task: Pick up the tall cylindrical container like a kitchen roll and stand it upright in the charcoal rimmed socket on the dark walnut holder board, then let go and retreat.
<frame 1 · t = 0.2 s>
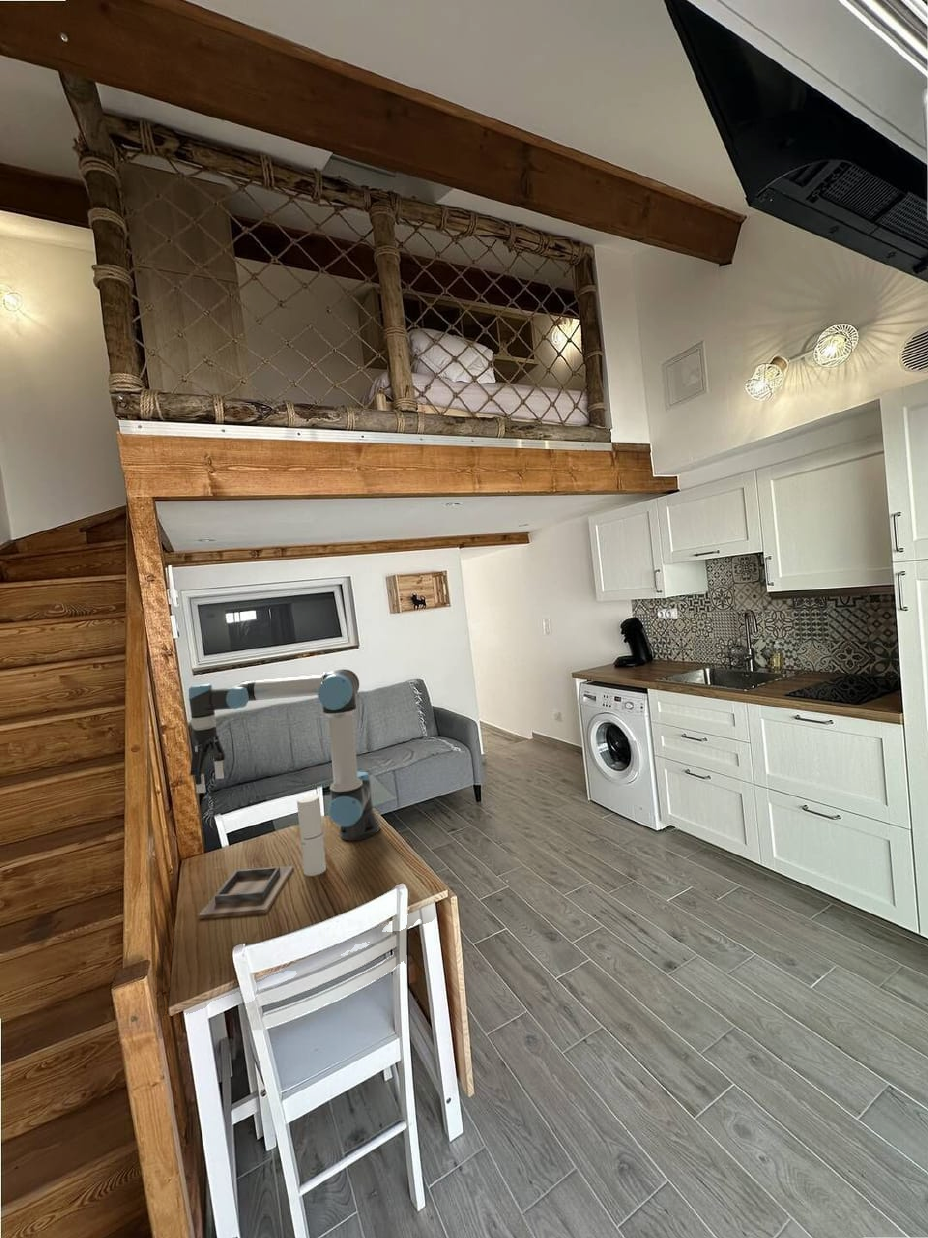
hand: (211, 785, 182), 28 cm above the table, fingers open, 13 cm apart
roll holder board: (249, 892, 160), on the table
cylindrical container: (315, 870, 171), on the table
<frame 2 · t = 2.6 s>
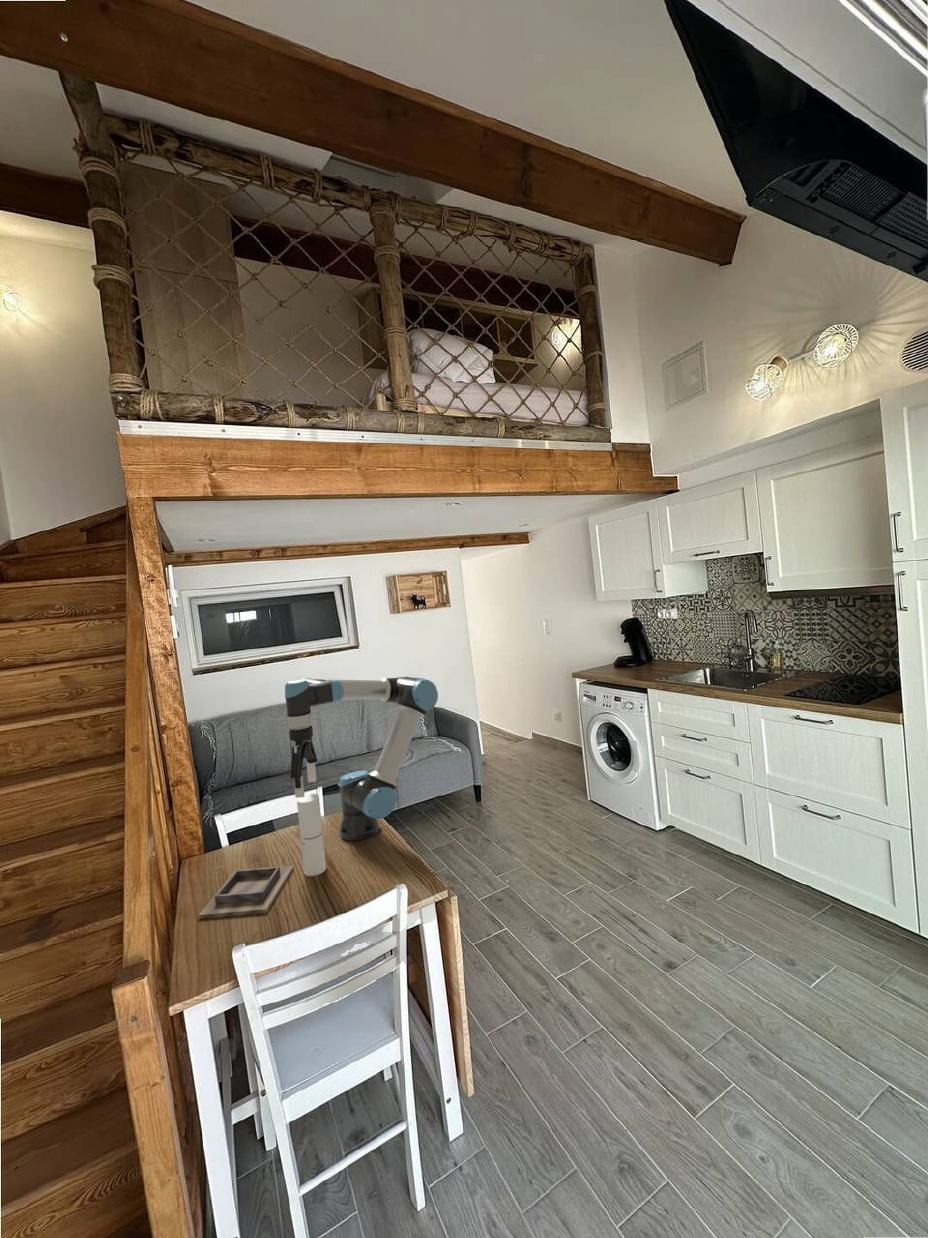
hand: (306, 789, 169), 28 cm above the table, fingers open, 13 cm apart
nothing on the table moved.
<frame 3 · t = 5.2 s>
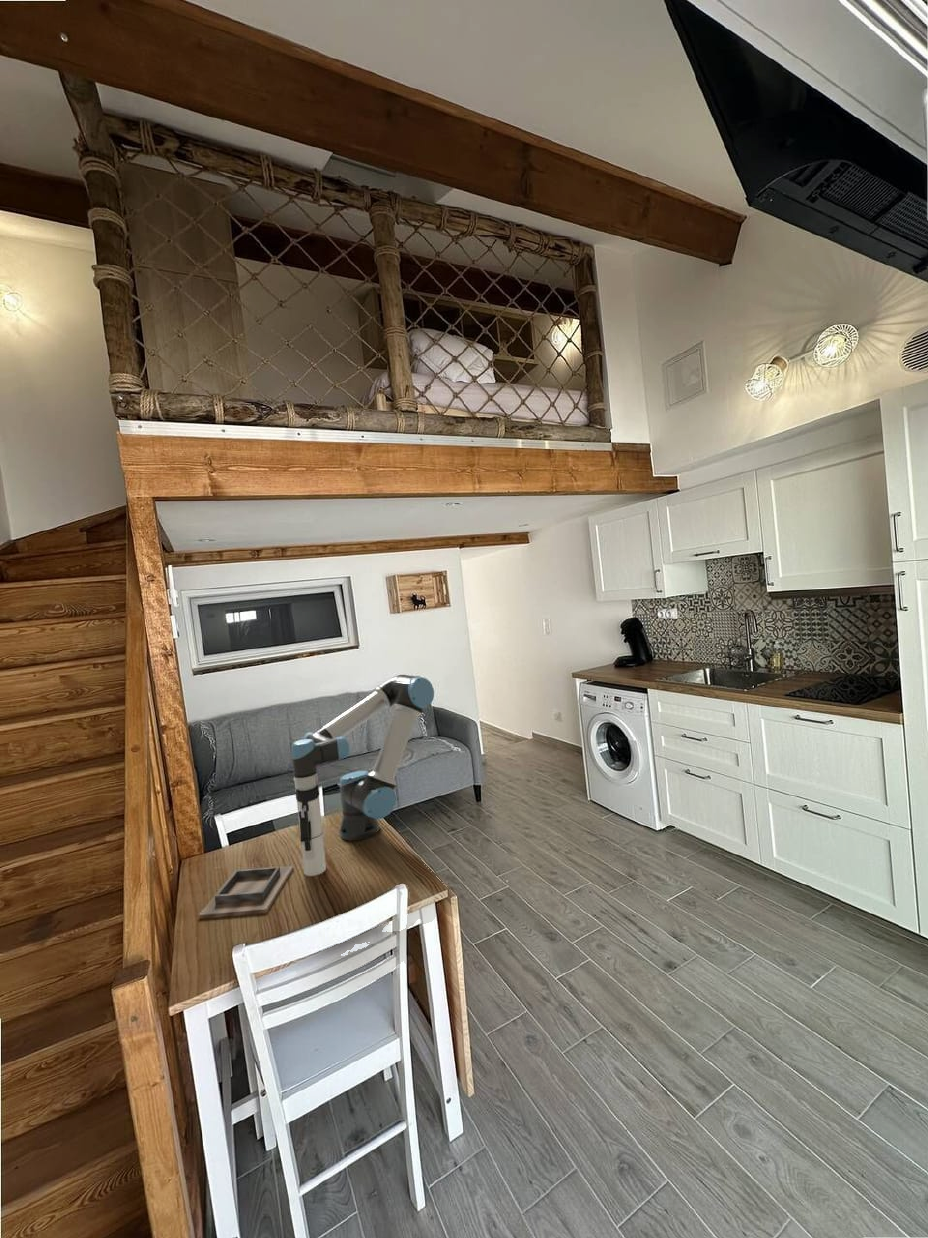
hand: (313, 852, 170), 6 cm above the table, fingers closed on cylindrical container, 7 cm apart
cylindrical container: (315, 870, 171), on the table, touching gripper
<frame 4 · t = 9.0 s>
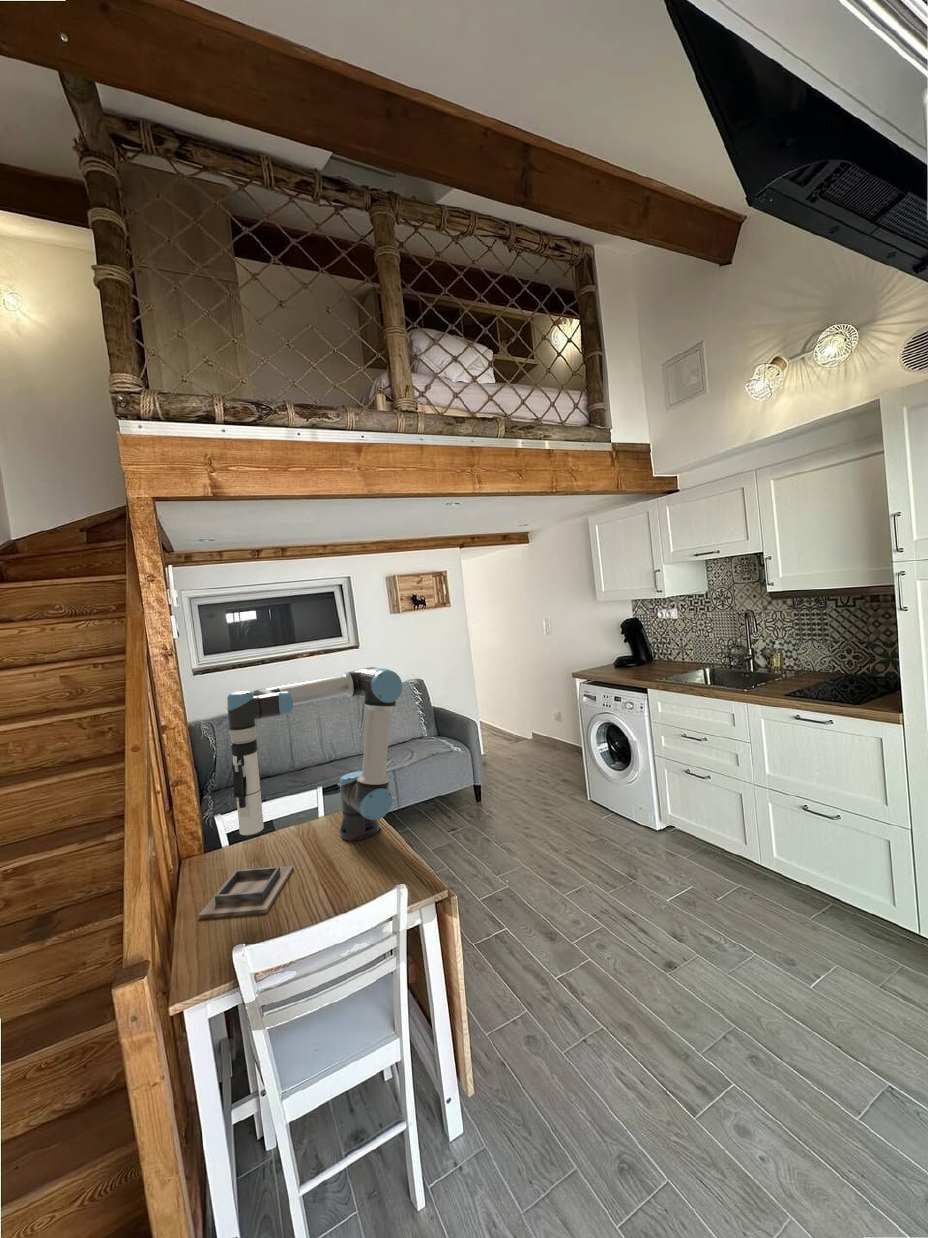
hand: (250, 811, 160), 26 cm above the table, fingers closed on cylindrical container, 7 cm apart
cylindrical container: (251, 830, 161), point 19 cm above the table, touching gripper
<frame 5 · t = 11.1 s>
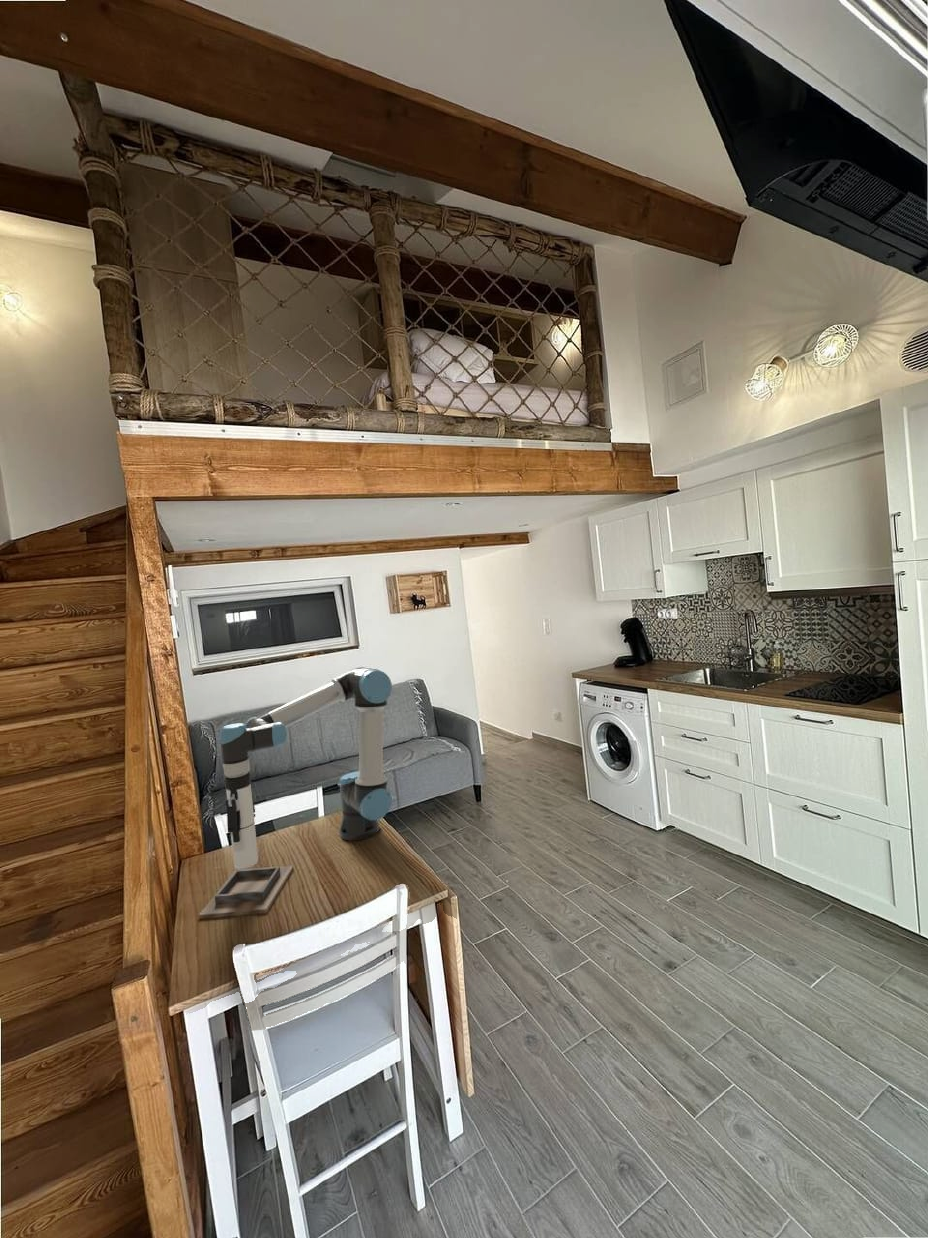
hand: (244, 844, 160), 16 cm above the table, fingers closed on cylindrical container, 7 cm apart
cylindrical container: (246, 863, 160), point 9 cm above the table, touching gripper
when the fingers open (9 cm above the table, at t = 12.8 s): cylindrical container drops 1 cm, resting on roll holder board.
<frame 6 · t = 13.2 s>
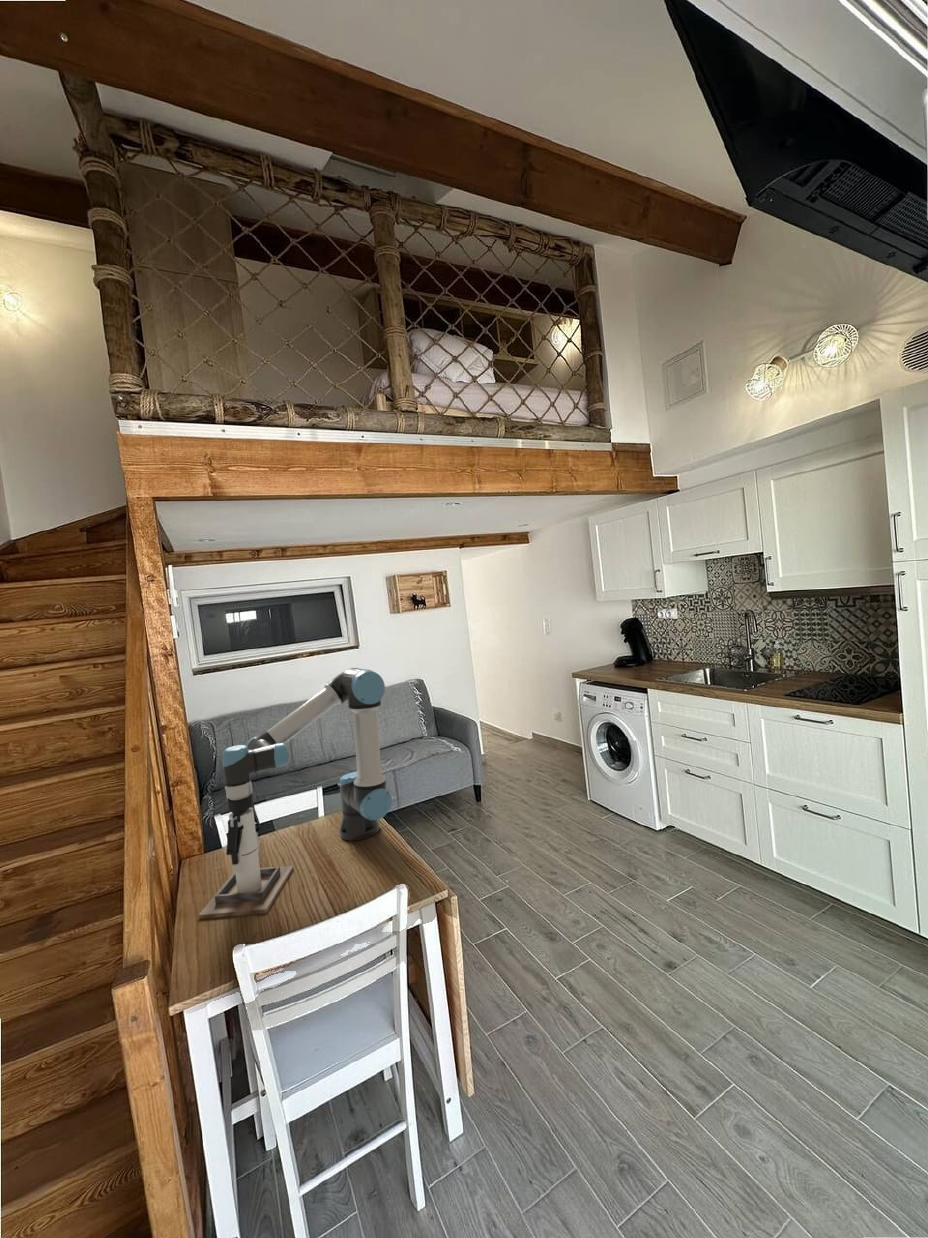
hand: (246, 862, 160), 10 cm above the table, fingers open, 12 cm apart
cylindrical container: (249, 888, 161), point 1 cm above the table, touching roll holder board
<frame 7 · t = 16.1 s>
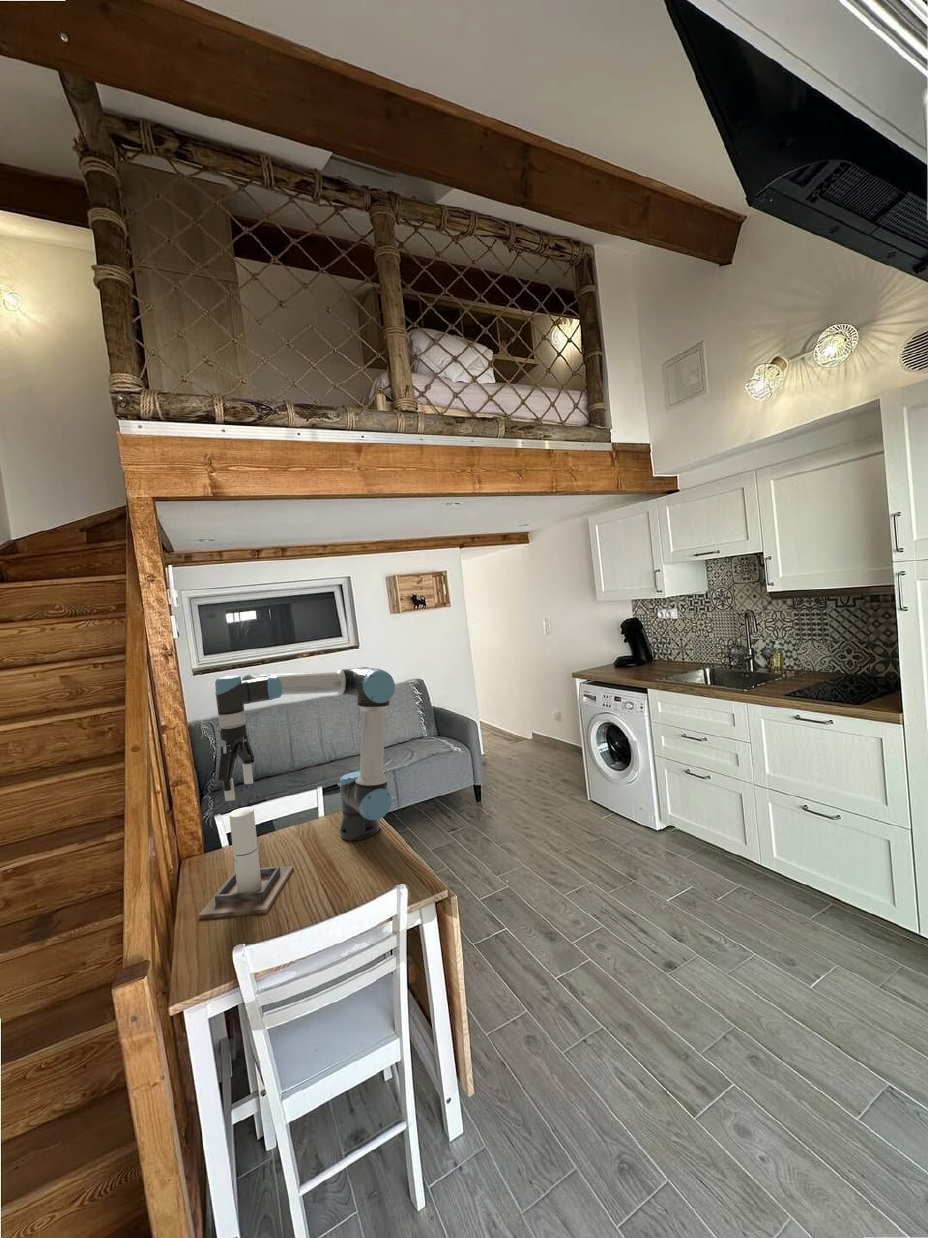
hand: (240, 791, 159), 33 cm above the table, fingers open, 13 cm apart
nothing on the table moved.
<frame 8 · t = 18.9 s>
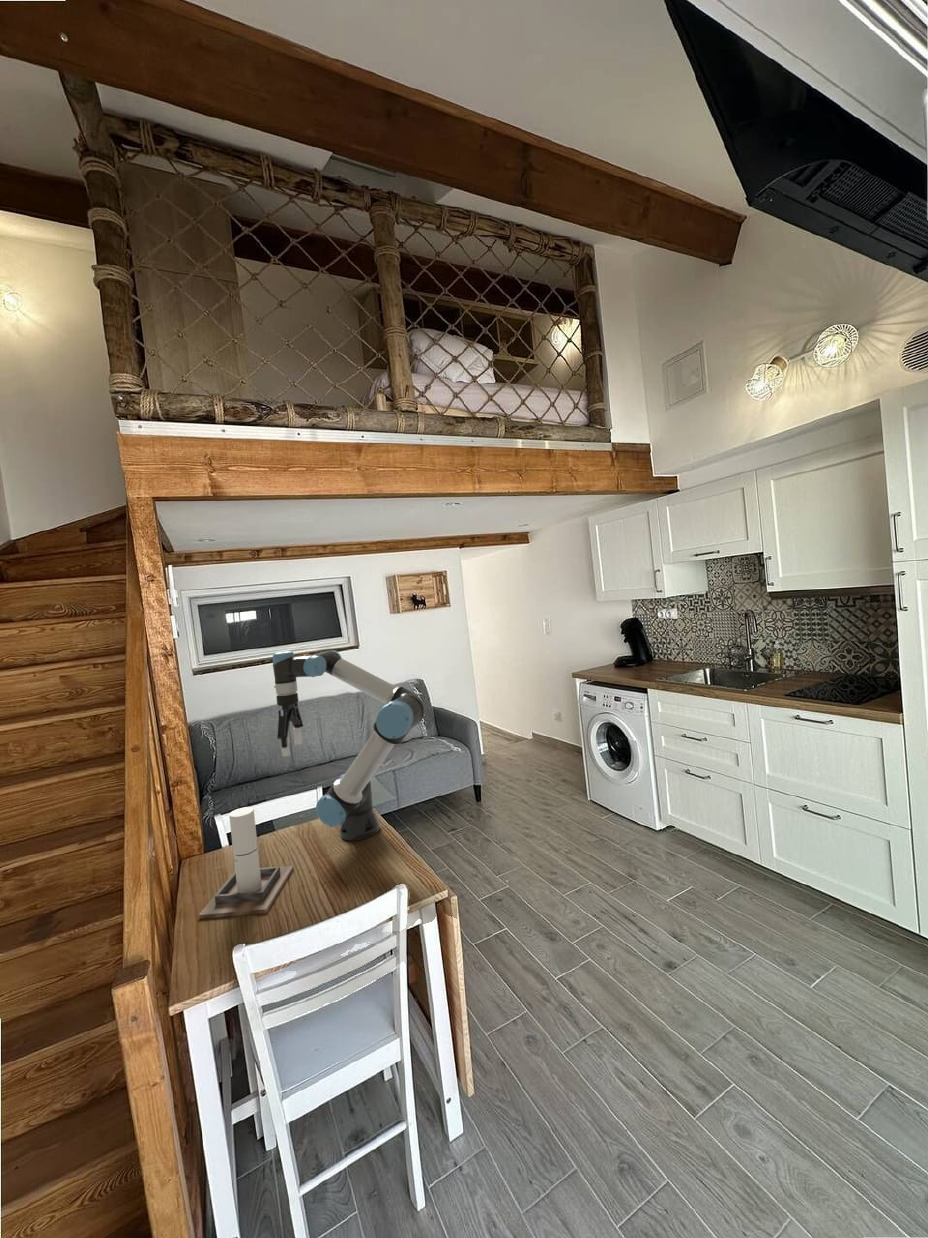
hand: (292, 750, 187), 37 cm above the table, fingers open, 13 cm apart
nothing on the table moved.
at the end: cylindrical container 0.1 cm off-centre on the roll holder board, point 1.0 cm above the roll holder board's base; cylindrical container tilted 0°; the gripper is holding nothing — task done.
